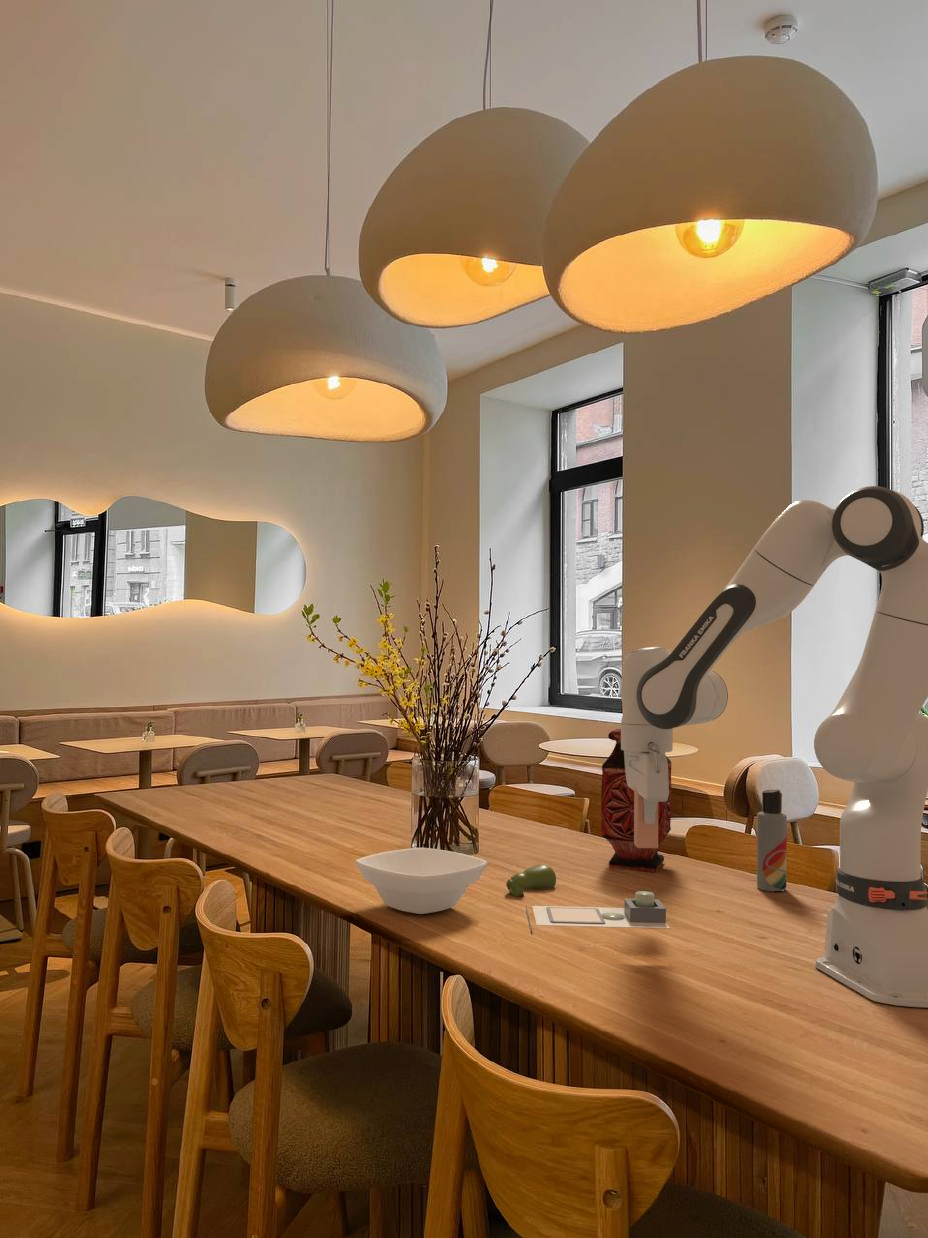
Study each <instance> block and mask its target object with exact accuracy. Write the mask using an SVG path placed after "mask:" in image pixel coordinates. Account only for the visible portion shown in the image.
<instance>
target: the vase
mask: <svg viewBox="0 0 928 1238" xmlns="http://www.w3.org/2000/svg"><path fill="white" fill-rule="evenodd" d="M607 737H608V739H609V740H611V741H615V745H614V748H613V750H612V752H611V753H610V755H609V756H608V757H607V758H606V760H605V761H604V762H603V764H602V765H601V771H602V774H601V777H602V779H601V788H600V789H601V795H600V796H601V808H600V809H601V823H600V827H601V837H603V838H604V839H606V841H608V843H609V844H610V845H611V846H612V849H613V850H614V854H613V856H612V857H611V858H610V860H609V861H608V866H609V868H611V869H617V870H626V869H628V870H629V871H637V870H638V871H639V872H648V871H649V873H656V872H658V870H659V869H660V867H661V865H663V863H664V861H665V856H664V855H663V854H659V852H658V851H659V849H660V847H661V844H662V843H663V842H664V840H665V839H666V837H667V836H668V834H669V833H670V831H671V830H672V827H671V820H672V819H671V816H672V815H671V812H672V811H671V810H672V761H671V760H670V759H669V757H667V755H666V754H665V756H666V758H667V763H668V782H669V795H668V800H667V801H665V802H658V848H637V847H636V846H635V844H634V790H632V789H631V788H630V787H628V785H627V781H626V773H625V760H624V750H621V728H616V729H614V730H612V731H610V732H609V733H608V736H607Z"/></svg>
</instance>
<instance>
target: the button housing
mask: <svg viewBox="0 0 928 1238" xmlns="http://www.w3.org/2000/svg"><path fill="white" fill-rule="evenodd" d="M623 901H624V903H623V904H624V905H623V906H624V907H623V908H624V913H625V915H626V916H627V918H628V919H629V921H630V922H644V923H666V924H667V920H666V919H667V909H666V907H665V905H664V904H663V903H662V902H661V900H660V899H655V898H654V907H642V906H635V898H624V900H623Z"/></svg>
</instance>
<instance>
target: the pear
mask: <svg viewBox="0 0 928 1238" xmlns="http://www.w3.org/2000/svg"><path fill="white" fill-rule="evenodd" d="M556 884H557V877H556V873H555V871H554V869H552V867H550V866H549V865H547V864H538V865H535V866H531V867H529V868H526V869H524V870H523V871H522V872H518V873H515V874H513V875H512V876H510V878H509V879H507V881H506V887H507V890H508V892H509V893H510V895H511V894H512V895H513V896H514V897H524V896H525V894H524V891H530V890H548V889H553V888H555V886H556Z"/></svg>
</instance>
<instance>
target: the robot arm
mask: <svg viewBox="0 0 928 1238" xmlns="http://www.w3.org/2000/svg"><path fill="white" fill-rule="evenodd" d="M924 525H925V524H924V519H923V516H922V514H921V512H920V511H919V509H918V507H916V506H915V504H914V503H913V502H912V501H911V500H910V499H909V498H908V497H907V496H906V495H904V494H903V493H901V492H898V491H896V490H893V489H890V488H887V487H883V486H879V485H878V486H877V485H871V486H870V485H868V486H864V487H861V488H858V489H855V490H852V491H851V492H850V493H848V494H847V495H846V496H844V497H843V498H842V499H841V500H840V501H839V503H838V504H837V505H836V507H835V508H832V507H829V506H827V505H825V504H823V503H822V502H819V501H815V500H809V499H808V500H807V499H801V500H797V501H794V502H792V503H791V504H790V505H788V507H787V508H785V509H784V510H783V511H782V512H781V513H780V515H778V516H777V517H776V518H775V520H774V521H773V522H772V523H771V524H770V525H769V526H768V527H767V529H766V530H765V532H763V534H762V535H761V537H760V538H759V539H758V540H757V542H756V544H755V545H754V546H753V548H752V549H751V551H750V552H749V554H748V555H747V556H746V558H745V560H744V561H743V562H742V564H741V565H740V566H739V568H738V570H737V571H736V572H735V573H734V575H733V576H732V577H731V579H730V580H729V582H728V583H726V585H725V586H724V587H723V589H722V590H721V592H719V593H718V595H717V596H716V597H715V598H714V599H713V600H712V602H711V603H710V604H709V605H708V606H707V607H706V609H705V610H704V611H703V612H702V614H701V615H700V616H699V617H698V618H697V620H696V621H695V623H693V624H692V626H691V627H690V629H689V630H688V632H686V633H685V634H684V636H683V638H682V639H681V640H680V641H679V643H678V644H677V646H676V647H674V649H673V650H672V651H671V650H670V649H668V648H666V647H663V646H652V647H643V648H638V649H635V650H633V651H631V652H629V653H628V654H626V656H625V659H624V662H623V665H622V670H621V671H622V672H621V688H620V691H621V692H620V697H621V698H620V699H621V703H622V706H623V707H622V708H623V712H622V715H621V720H620V722H621V723H620V729H621V750H624V760H625V773H626V781H627V785H628V787H630V788H631V789H632V790H634V788H635V787H636V788H637V789H638V794H639V795H640V796H642V797H643V798H644V812H643V821H644V822H645V823H646V824H654V823H655V813H656V809H657V802H665V801H667V800H668V795H669V782H668V763H667V758H668V757H667V755H666V753H670V752H673V748H674V747H673V745H674V743H673V741H674V740H673V739H674V738H673V735H674V734H673V729H676V728H679V727H683V726H691V725H692V726H694V725H698V724H699V725H700V724H705V723H709V722H712V721H714V720H716V719H718V718H719V717H720V716H722V714H723V713H724V711H725V709H726V708H727V706H728V705H727V704H728V698H729V694H728V688H727V684H726V683H725V681H724V679H723V678H722V676H721V675H720V674H718V673H717V672H715V671H714V670H712V668H714V666H715V665H716V663H718V661H719V660H720V659H721V657H722V656H723V655H724V653H725V652H727V649H729V647H730V646H731V645H732V644H733V643H734V642H735V641H736V640H737V639H738V638H739V637H741V636H742V635H744V634H745V633H747V632H750V631H751V630H753V629H756V628H758V627H761V626H763V625H766V624H769V623H772V622H775V621H780V620H782V619H784V618H786V617H788V615H789V614H791V613H792V612H793V611H794V610H796V609H797V607H798V606H800V604H801V603H802V602H803V601H804V600H806V598H807V596H808V595H809V594H810V593H811V591H812V589H813V588H814V587H815V585H816V584H817V582H818V581H819V580H820V579H821V577H822V575H823V574H824V572H825V571H826V570H827V568H829V566H830V565H831V564H832V563H834V561H836V560H837V559H839V558H842V557H845V556H849V557H851V558H854V559H856V560H858V561H859V562H861V563H864V564H866V566H867V565H868V566H869V567H870V568H873V569H874V570H876V571H878V572H880V576H881V589H880V592H879V596H878V597H879V598H878V600H877V604H876V608H875V611H874V613H873V618H872V621H871V625H870V628H869V632H868V636H867V639H866V641H865V645H864V649H863V652H862V655H861V658H860V660H859V662H858V665H857V668H856V670H855V672H854V674H853V676H852V677H851V680H849V683H848V685H847V686H846V688H845V690H844V692H843V694H842V696H841V698H840V699H839V701H838V703H837V705H836V706H835V708H834V710H833V711H832V712H831V713H830V715H828V717H826V719H824V720H823V722H821V723H820V725H819V726H818V727H817V729H816V732H815V735H814V738H813V739H814V740H813V749H814V753H815V754H814V755H815V756H816V759H817V761H818V763H819V765H820V766H821V767H822V768H823V769H824V770H825V771H826V772H827V773H828V774H829V775H832V776H833V777H834V778H835V777H836V778H838V779H841V780H844V781H847V782H852V783H853V786H852V790H851V794H850V797H849V800H848V803H847V805H846V807H845V808H844V810H843V811H842V814H841V815H840V819H839V868H837V870H836V877H835V884H836V890H835V891H836V894H837V895H838V897H837V898H836V901H835V903H834V904H833V906H831V908H829V910H828V911H827V915H826V916H827V917H826V927H825V941H824V955H823V956H821V957H817V958H816V960H815V967H816V969H818V970H819V971H822V973H825V974H826V975H828V976H830V977H832V978H833V979H835V980H837V981H838V982H839V983H842V984H843V985H845V986H847V987H848V988H851V989H853V990H854V991H856V993H857V992H858V993H859V994H860V995H863V996H864V997H865V998H867V999H869V1000H871V1001H873V1002H877V1003H882V1004H887V1005H894V1006H898V1007H899V1006H900V1007H901V1006H902V1007H912V1008H928V896H927V895H928V891H927V887H926V886H925V880H924V878H923V877H922V876H921V873H922V872H921V868H922V867H921V866H922V864H921V863H922V862H921V858H922V856H921V852H922V843H921V842H922V841H921V840H922V823H923V815H924V811H925V810H924V809H925V804H926V800H927V796H928V716H926V715H924V714H923V713H920V711H921V709H922V708H923V706H924V704H925V702H926V700H927V699H928V542H927V541H925V539H923V536H924V531H925V530H924V529H925V526H924ZM665 755H666V756H665ZM666 757H667V758H666ZM636 788H635V789H636ZM637 789H636V790H637Z"/></svg>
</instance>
